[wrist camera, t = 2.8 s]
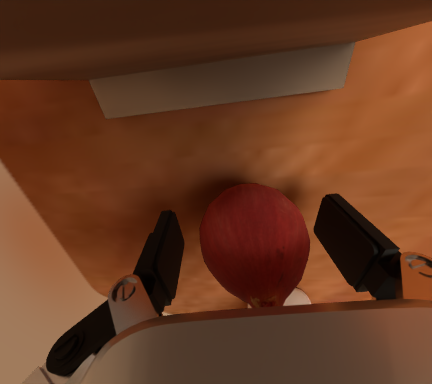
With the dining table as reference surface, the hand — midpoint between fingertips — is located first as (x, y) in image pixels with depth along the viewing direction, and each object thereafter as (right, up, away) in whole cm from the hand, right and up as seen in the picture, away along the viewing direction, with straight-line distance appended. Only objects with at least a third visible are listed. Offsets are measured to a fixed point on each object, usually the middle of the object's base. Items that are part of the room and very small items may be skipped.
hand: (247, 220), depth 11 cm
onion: (0, +2, +2) cm, 3 cm away
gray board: (-2, +9, -3) cm, 9 cm away
